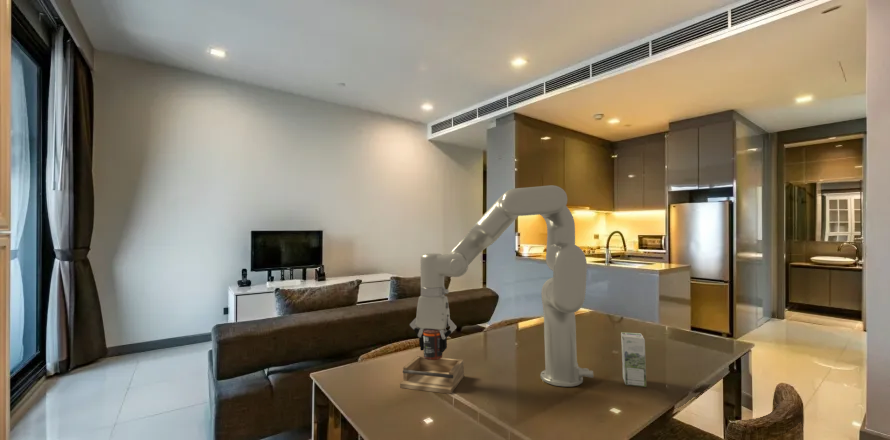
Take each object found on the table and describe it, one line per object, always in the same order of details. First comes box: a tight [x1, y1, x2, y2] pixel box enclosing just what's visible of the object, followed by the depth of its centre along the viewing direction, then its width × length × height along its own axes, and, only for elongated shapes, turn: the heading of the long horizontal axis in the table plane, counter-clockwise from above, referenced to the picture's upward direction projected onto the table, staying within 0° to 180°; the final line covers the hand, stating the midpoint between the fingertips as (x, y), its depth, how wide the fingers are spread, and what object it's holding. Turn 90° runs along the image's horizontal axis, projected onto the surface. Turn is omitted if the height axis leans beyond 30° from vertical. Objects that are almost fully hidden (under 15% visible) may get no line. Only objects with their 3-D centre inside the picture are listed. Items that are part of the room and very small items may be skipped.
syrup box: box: [620, 331, 647, 388], centre depth 110 cm, size 6×6×14 cm
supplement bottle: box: [423, 329, 443, 360], centre depth 114 cm, size 6×6×11 cm
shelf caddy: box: [399, 355, 465, 395], centre depth 113 cm, size 16×14×5 cm
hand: (433, 349), depth 114 cm, fingers closed on supplement bottle, 6 cm apart
